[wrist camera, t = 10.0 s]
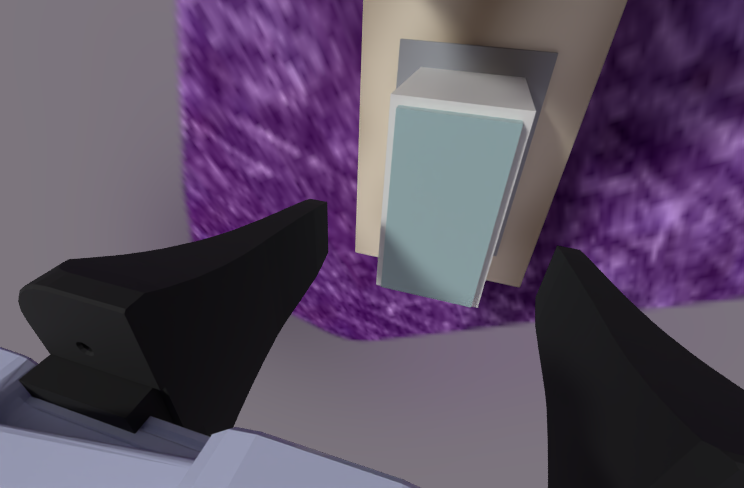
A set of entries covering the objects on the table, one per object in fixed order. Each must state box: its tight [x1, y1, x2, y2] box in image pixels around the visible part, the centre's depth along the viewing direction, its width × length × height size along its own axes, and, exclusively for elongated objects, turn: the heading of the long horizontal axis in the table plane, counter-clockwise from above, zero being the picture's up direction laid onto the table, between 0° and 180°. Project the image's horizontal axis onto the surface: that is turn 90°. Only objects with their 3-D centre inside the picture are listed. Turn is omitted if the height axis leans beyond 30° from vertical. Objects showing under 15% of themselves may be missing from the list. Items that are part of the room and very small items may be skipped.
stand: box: [355, 0, 627, 287], centre depth 19 cm, size 10×14×2 cm
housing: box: [376, 67, 536, 308], centre depth 16 cm, size 8×4×6 cm, turn 178°
